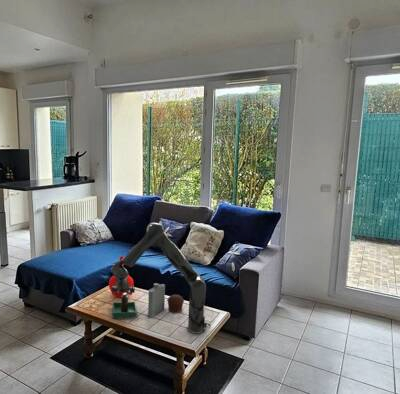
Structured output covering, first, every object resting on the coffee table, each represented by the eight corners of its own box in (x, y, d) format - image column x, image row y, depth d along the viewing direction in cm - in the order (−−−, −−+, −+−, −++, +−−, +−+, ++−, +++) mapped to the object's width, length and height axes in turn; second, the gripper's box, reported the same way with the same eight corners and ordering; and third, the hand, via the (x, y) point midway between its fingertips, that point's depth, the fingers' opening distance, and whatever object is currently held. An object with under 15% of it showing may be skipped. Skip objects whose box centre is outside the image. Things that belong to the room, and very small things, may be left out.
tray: (134, 306, 238) (134, 301, 237) (136, 317, 223) (136, 312, 222) (112, 307, 236) (112, 302, 235) (113, 318, 221) (113, 313, 220)
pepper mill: (127, 309, 232) (128, 292, 230) (128, 313, 227) (128, 295, 225) (120, 310, 231) (120, 292, 229) (121, 313, 226) (121, 295, 224)
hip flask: (150, 317, 222) (151, 288, 220) (146, 315, 225) (146, 286, 222) (165, 309, 235) (166, 281, 232) (160, 307, 237) (161, 279, 235)
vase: (123, 302, 243) (123, 262, 239) (103, 296, 253) (103, 257, 249) (138, 294, 258) (138, 256, 254) (119, 288, 268) (119, 251, 264)
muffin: (170, 314, 228) (170, 300, 226) (164, 307, 238) (164, 293, 237) (186, 312, 231) (187, 298, 230) (180, 304, 242) (180, 291, 240)
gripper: (134, 278, 212) (135, 288, 225) (111, 277, 213) (114, 287, 226) (133, 289, 208) (134, 299, 221) (109, 288, 209) (112, 298, 221)
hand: (124, 293), depth 223 cm, fingers open, 8 cm apart
